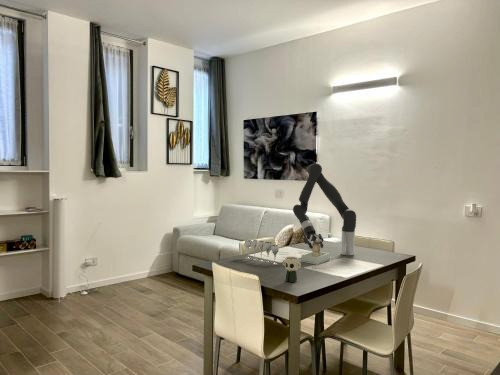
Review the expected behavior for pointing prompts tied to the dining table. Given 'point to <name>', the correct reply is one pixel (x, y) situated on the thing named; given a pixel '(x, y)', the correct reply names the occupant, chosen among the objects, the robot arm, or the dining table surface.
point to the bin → (315, 258)
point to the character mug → (291, 268)
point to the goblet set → (261, 247)
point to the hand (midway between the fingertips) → (317, 247)
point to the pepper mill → (316, 249)
